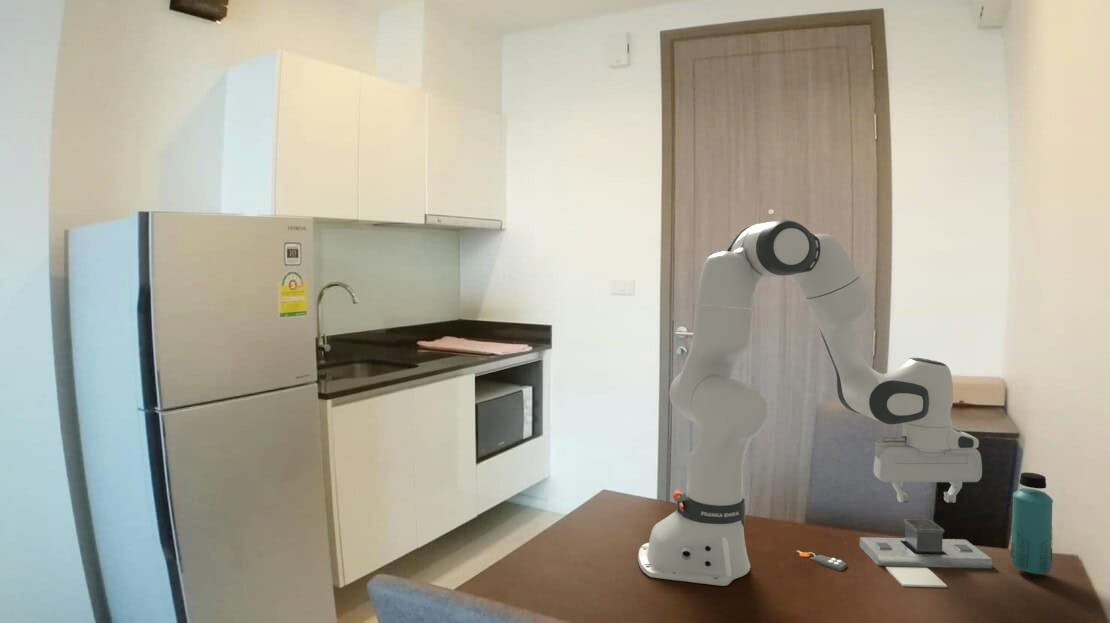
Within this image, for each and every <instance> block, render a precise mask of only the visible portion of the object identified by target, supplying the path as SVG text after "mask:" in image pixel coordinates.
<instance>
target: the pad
mask: <svg viewBox="0 0 1110 623" xmlns="http://www.w3.org/2000/svg"><path fill="white" fill-rule="evenodd" d="M885 570H887V571H888V573H889V574H891V576H892V577H893V578H894V579H895V580H896V581H897V582H898V583H899V584H900V585H901V586H902V587H912V588H913V587H914V588H915V587H916V588H917V587H918V588H919V587H920V588H922V587H923V588H945V589H946V588H948V585H947V584H946V583H945V582H943V580H941V578H939V577H938V576H937V575H936V574H935V573H934V572H933V571H932V570H931V569H929V567H913V566H885Z"/></svg>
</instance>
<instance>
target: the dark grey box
mask: <svg viewBox="0 0 1110 623" xmlns="http://www.w3.org/2000/svg"><path fill="white" fill-rule="evenodd" d="M903 522H904V523H905V524H904V538H905V546H906V547H907V548H908V549H909V550H911V551H912V552H913V553H914V554H927V555H942V540H943V539H944V538H943V537H944V534H945V529H944V528H943V527H941V526H940V525H939V524H937V523H936V522H934V521H933V520H931V519H924V518H923V519H917V518H915V519H914V518H913V519H910V518H904V519H903Z"/></svg>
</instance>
